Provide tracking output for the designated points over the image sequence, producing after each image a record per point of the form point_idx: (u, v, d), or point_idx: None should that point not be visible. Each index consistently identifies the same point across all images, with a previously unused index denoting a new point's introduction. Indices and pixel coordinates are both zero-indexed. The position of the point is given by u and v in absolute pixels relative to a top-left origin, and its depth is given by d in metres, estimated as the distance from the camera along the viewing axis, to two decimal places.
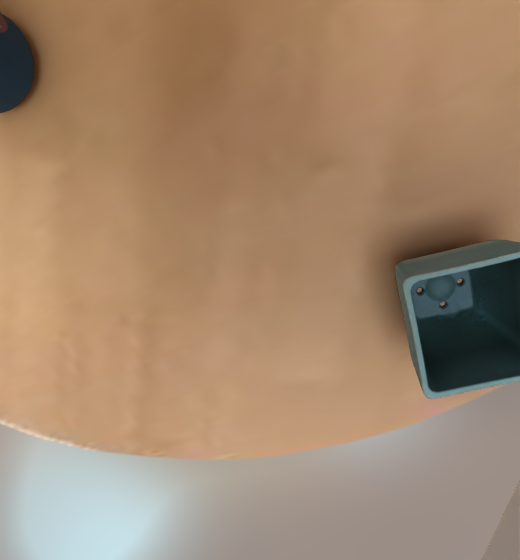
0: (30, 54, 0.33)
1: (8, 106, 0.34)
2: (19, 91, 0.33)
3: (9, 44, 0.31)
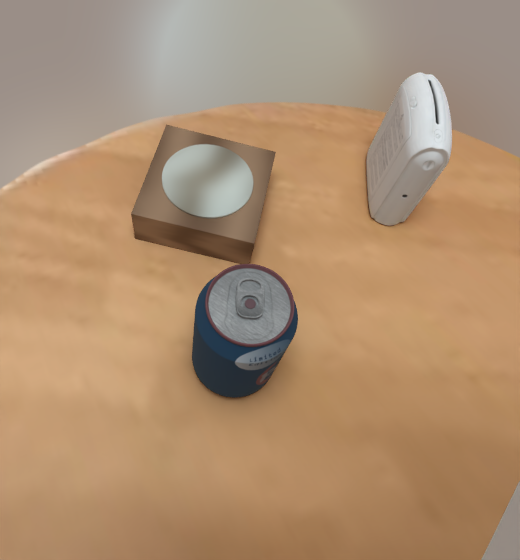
0: (241, 396, 0.38)
1: (197, 373, 0.38)
2: (209, 385, 0.37)
3: (247, 387, 0.36)
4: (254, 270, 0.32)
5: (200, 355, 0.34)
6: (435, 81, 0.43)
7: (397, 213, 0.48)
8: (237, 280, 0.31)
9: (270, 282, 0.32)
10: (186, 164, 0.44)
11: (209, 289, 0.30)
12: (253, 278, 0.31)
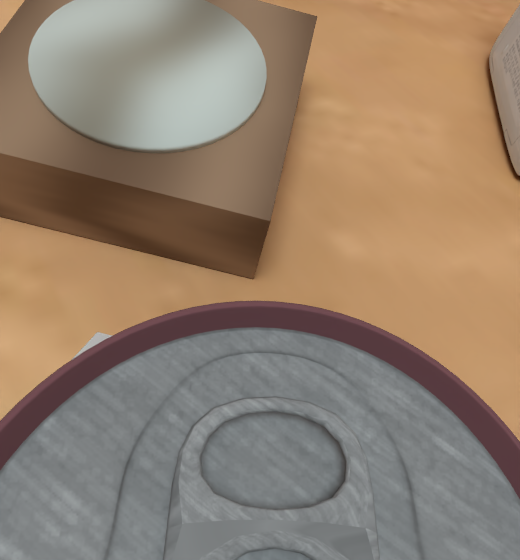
0: None
1: None
2: None
3: None
4: (297, 341, 0.05)
5: None
6: None
7: None
8: (186, 412, 0.05)
9: (401, 422, 0.05)
10: (100, 24, 0.18)
11: None
12: (293, 400, 0.05)
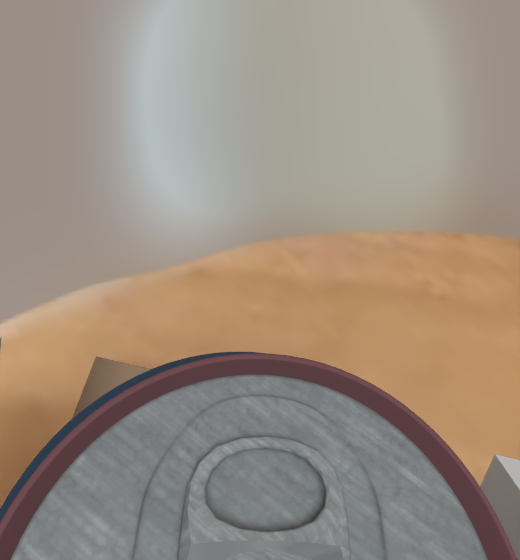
0: None
1: None
2: None
3: None
4: (286, 386, 0.06)
5: None
6: None
7: None
8: (193, 448, 0.06)
9: (373, 456, 0.06)
10: None
11: None
12: (282, 438, 0.06)
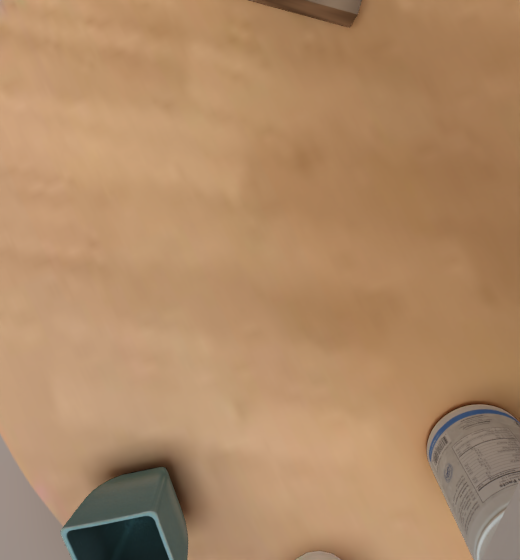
0: None
1: None
2: None
3: None
4: None
5: None
6: None
7: None
8: None
9: None
10: None
11: None
12: None
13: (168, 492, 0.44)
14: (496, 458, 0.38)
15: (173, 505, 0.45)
